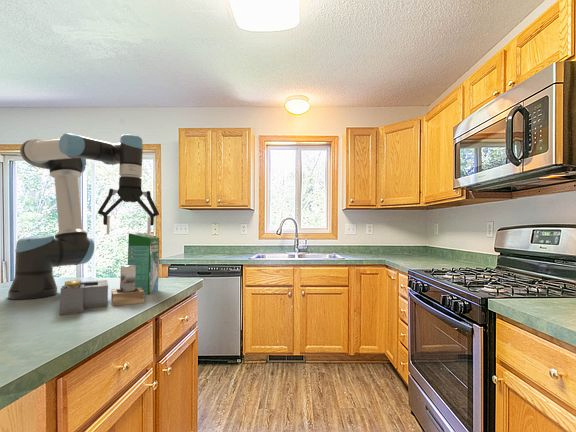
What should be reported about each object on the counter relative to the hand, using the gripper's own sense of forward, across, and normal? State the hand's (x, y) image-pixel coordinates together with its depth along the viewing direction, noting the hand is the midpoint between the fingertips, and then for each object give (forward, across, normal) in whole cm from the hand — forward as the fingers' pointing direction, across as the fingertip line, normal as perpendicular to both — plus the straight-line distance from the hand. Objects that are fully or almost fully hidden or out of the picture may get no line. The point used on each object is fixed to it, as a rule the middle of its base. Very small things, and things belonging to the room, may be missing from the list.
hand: (128, 234), depth 119 cm
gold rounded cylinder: (+22, -16, -8) cm, 28 cm away
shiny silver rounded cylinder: (+24, 0, 0) cm, 24 cm away
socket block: (+25, -13, -1) cm, 28 cm away
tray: (+25, 0, 0) cm, 25 cm away
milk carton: (+25, +7, +15) cm, 30 cm away
